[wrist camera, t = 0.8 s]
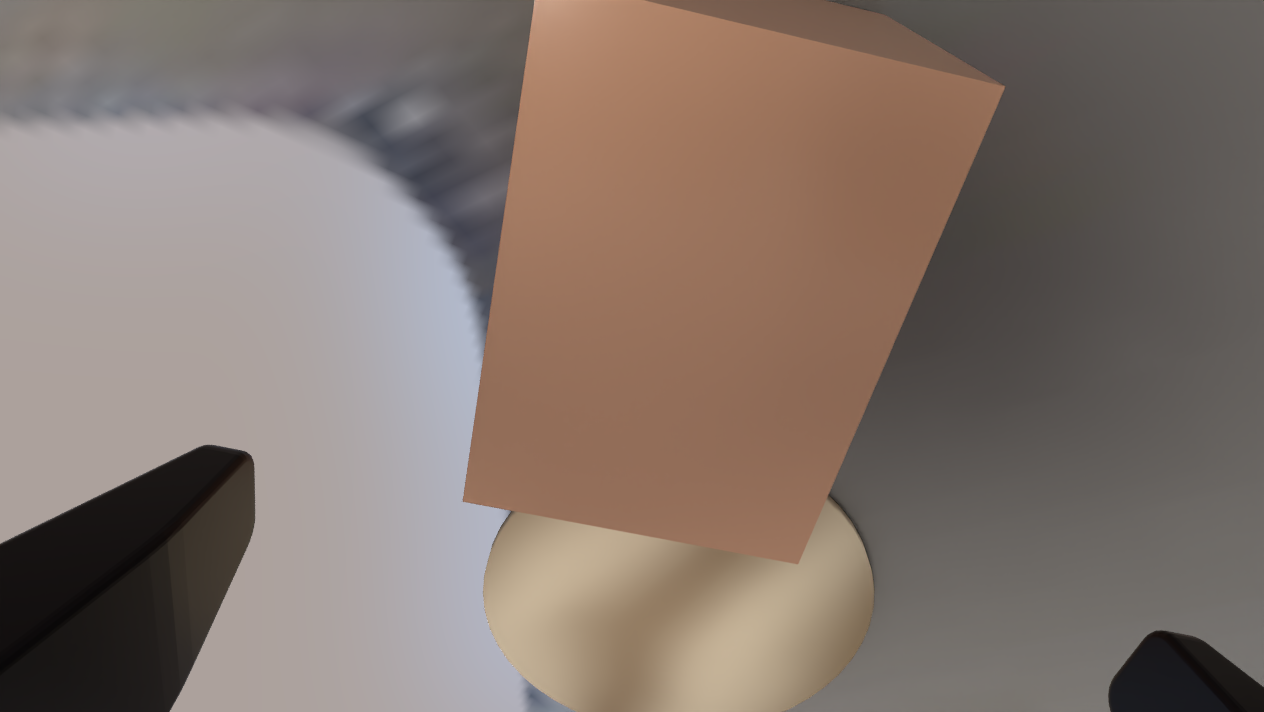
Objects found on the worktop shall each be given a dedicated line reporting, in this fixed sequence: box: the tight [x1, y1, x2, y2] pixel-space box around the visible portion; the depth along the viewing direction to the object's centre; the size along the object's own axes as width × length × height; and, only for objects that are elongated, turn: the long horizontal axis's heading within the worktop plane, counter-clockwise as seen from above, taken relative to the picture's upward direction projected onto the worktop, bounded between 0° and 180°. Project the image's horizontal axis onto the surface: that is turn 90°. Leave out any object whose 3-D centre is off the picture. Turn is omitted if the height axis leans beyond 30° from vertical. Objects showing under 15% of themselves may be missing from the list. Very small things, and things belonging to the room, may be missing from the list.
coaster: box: [483, 495, 874, 712], centre depth 26 cm, size 12×12×1 cm
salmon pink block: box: [463, 0, 1005, 564], centre depth 16 cm, size 6×9×7 cm
